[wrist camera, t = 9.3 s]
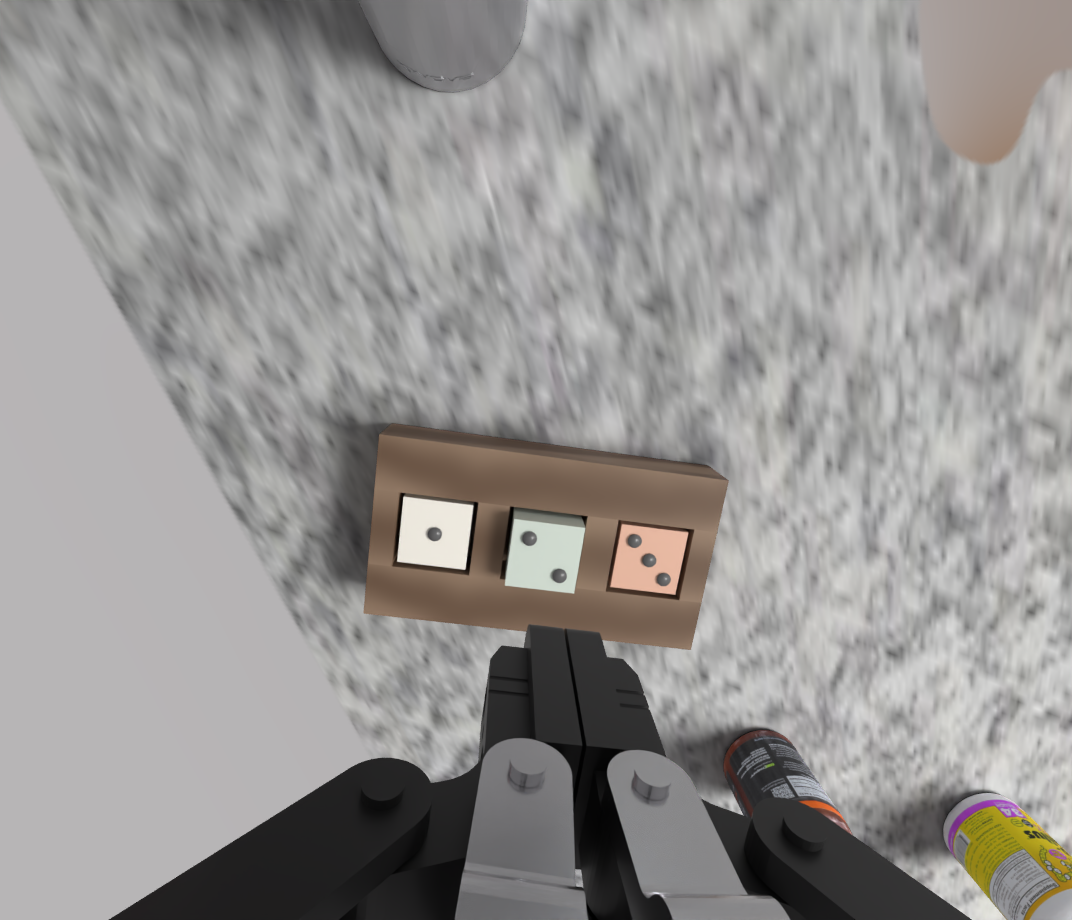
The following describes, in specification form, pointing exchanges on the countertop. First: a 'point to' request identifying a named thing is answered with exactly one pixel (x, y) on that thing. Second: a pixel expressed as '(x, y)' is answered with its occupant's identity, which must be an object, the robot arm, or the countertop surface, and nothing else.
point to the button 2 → (544, 550)
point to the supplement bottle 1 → (773, 775)
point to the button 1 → (435, 531)
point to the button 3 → (647, 557)
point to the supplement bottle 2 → (1010, 858)
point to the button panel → (551, 485)
